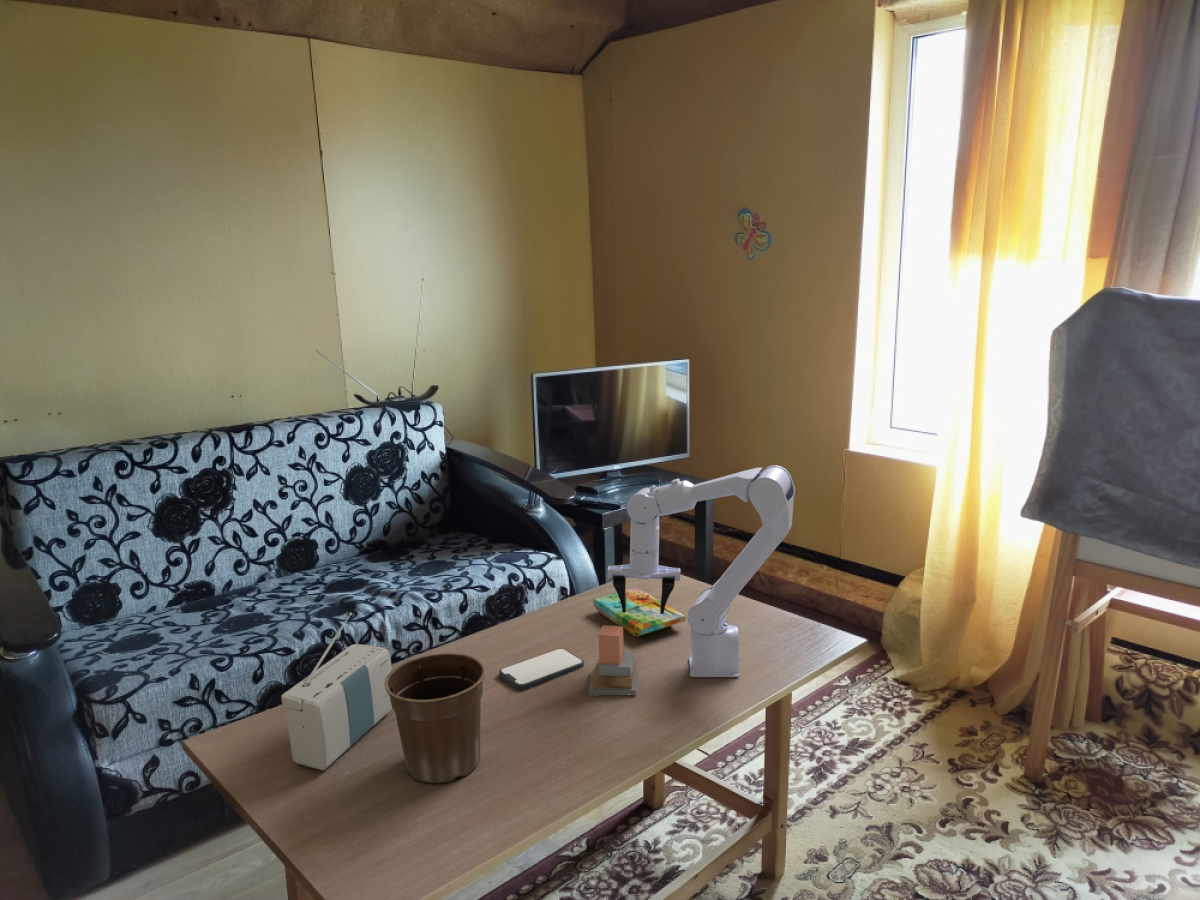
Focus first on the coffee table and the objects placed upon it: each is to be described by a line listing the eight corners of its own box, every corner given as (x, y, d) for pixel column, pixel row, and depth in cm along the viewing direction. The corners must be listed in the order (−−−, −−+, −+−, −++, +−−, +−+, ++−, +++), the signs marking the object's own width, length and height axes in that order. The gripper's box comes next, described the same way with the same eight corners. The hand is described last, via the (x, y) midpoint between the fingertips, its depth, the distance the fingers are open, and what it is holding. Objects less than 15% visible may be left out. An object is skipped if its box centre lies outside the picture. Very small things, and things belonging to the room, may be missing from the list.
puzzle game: (635, 583, 201) (685, 612, 184) (635, 602, 202) (685, 632, 185) (592, 595, 195) (640, 626, 179) (593, 614, 196) (641, 646, 180)
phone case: (562, 653, 179) (496, 677, 169) (562, 646, 178) (496, 669, 169) (587, 669, 172) (520, 694, 162) (586, 661, 171) (519, 686, 162)
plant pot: (408, 735, 149) (399, 652, 146) (498, 734, 149) (492, 650, 145) (382, 793, 134) (371, 701, 130) (483, 792, 133) (475, 699, 129)
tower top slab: (634, 661, 166) (634, 652, 165) (630, 676, 160) (630, 667, 160) (604, 660, 167) (603, 651, 166) (599, 675, 161) (599, 665, 161)
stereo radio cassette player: (326, 777, 139) (312, 666, 134) (286, 768, 141) (270, 659, 137) (398, 711, 158) (387, 612, 153) (361, 705, 160) (350, 607, 156)
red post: (623, 654, 165) (622, 626, 163) (620, 664, 161) (619, 636, 159) (603, 653, 165) (602, 625, 164) (599, 663, 162) (598, 634, 160)
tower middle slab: (635, 669, 167) (634, 659, 167) (631, 688, 160) (631, 678, 159) (597, 668, 168) (597, 659, 168) (592, 687, 161) (592, 677, 160)
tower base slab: (637, 676, 168) (637, 667, 168) (636, 699, 160) (635, 690, 159) (592, 676, 169) (592, 667, 169) (588, 699, 160) (588, 690, 160)
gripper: (606, 554, 165) (606, 618, 168) (681, 557, 164) (679, 621, 167) (609, 541, 171) (608, 603, 175) (680, 543, 170) (678, 605, 174)
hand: (643, 611), depth 171 cm, fingers open, 7 cm apart
